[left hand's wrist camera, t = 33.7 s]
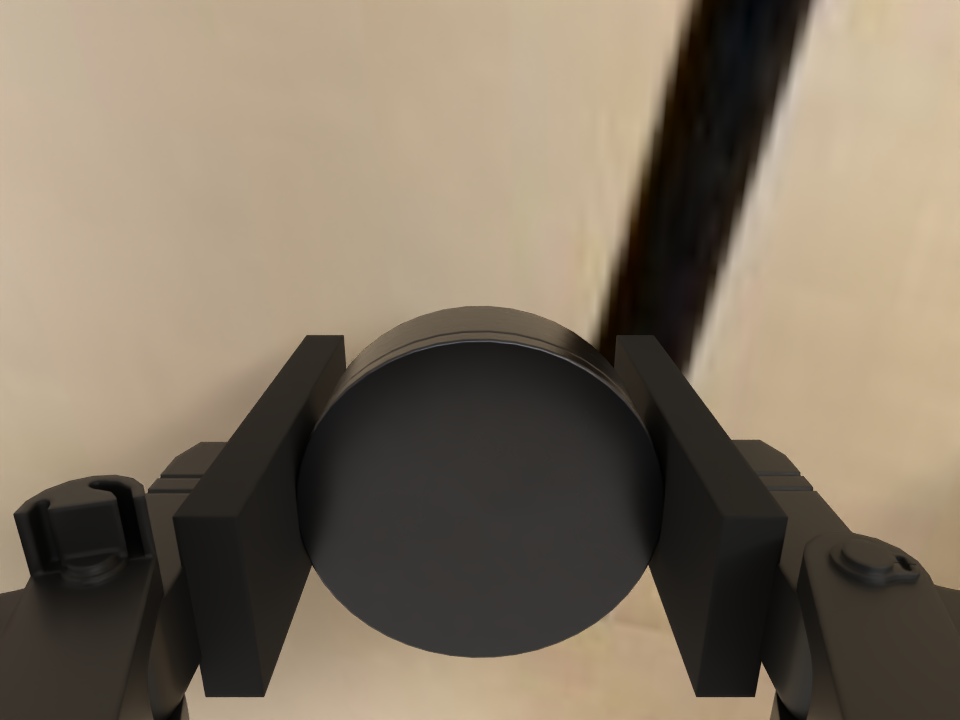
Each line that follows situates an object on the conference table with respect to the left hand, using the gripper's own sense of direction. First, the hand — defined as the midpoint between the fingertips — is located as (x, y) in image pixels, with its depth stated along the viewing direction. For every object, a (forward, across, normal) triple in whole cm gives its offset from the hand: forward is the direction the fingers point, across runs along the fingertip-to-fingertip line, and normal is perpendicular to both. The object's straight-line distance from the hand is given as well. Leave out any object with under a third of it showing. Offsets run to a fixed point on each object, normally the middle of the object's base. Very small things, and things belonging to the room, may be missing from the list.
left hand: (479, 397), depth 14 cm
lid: (-4, 0, 0) cm, 4 cm away
